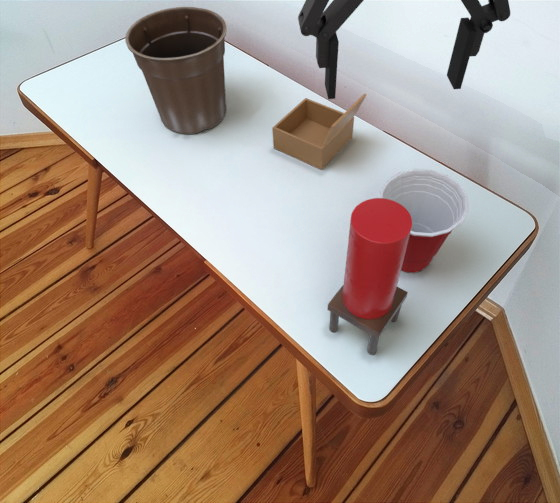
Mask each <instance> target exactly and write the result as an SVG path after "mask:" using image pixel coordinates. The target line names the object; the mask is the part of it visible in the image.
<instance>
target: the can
mask: <svg viewBox="0 0 560 503" xmlns="http://www.w3.org/2000/svg"><path fill="white" fill-rule="evenodd" d="M411 228H412V218H411V215H410V213H409V212H408V210H407V209H406V208H405V207H403V206H402V205H401V204H399V203H397V202H395V201H393V200H389V199H384V198H380V197H374V198H369V199H365V200H363V201H361V202H360V203H358V204H357V205H356V206H355V207H354V209H353V210H352V212H351V215H350V224H349V231H348V240H347V241H348V242H347V250H346V259H345V268H344V278H343V284H344V286H343V285H342V286H343V295H342V298H343V302H344V305H345V307H346V308H347V309H348V310H349V311H350V312H351V313H352V314H353V315H355V316H357V317H360V318H363V319H376V318H379V317H382V316H384V315H385V314H386V313H387V312H388V311H389V310H390V309H391V307H392V304H393V300H394V296H395V292H396V288H397V287H398V284H399V279H400V276H401V272H402V270H401V268H402V264H403V260H404V256H405V252H406V248H407V244H408V240H409V236H410V232H411Z"/></svg>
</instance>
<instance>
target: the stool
mask: <svg viewBox="0 0 560 503" xmlns="http://www.w3.org/2000/svg"><path fill="white" fill-rule="evenodd" d="M343 286H344V283H343V284H342V285H341V287H340V288H339V289H338V290H337V292H336V293H335V294H334V295H333V297H332V298H331V300H330V301H329V303H327V311H329V312H330V313H329V325H328V329H329V331H330V332H331V333H336V332H337V331H338V330H339V320H340V318H341V319H343V320H345V321H346V322H348V323H350V324H351V325H353V326H355V327H357V328H358V329H360V330H362V331H364V332H365V333H367V334H368V335H369V340H368V345H367V348H366V350H367V354H368V355H370V356H374V355H376V354H377V350H378V346H379V343H380V337H381V336H382V335H383V333H384V332H385V330H386V329H387V327H388V325H389V324H390V323H394V324H395V323H397V322H398V320H399V317H400V313H401V310H402V306H403V304H404V302H405V300H406V299H407V297H408V294H409V292H408V291H407V290H404V289H403V288H402V287H399V286H397V288H396V292H395V296H394V300H393V304H392V307H391V309H390V310H389V311H388V312H387V313H386V314H385V315H384V316H382V317H379V318H376V319H363V318H360V317H357V316H355V315H353V314H352V313H351V312H350V311H349V310H348V309H347V308H346V307H345V305H344V302H343V298H342V295H343Z"/></svg>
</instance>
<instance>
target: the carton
mask: <svg viewBox="0 0 560 503" xmlns="http://www.w3.org/2000/svg"><path fill="white" fill-rule="evenodd" d="M344 113H345V112H343V111H340V110H338V109H335V108H332V107H330V106H327V105H326V104H323V103H320V102H317V101H314V100H312V99H310V98H308V97H305V98H304V99H303V100H301V101H300V102H299V103H298V104H297V105H296V106H294V108H292V109H291V111H289V112H288V113H287V114H286V115H285V116H283V117H282V118H281V119H280V120H279V121H278V122H277V123H275V125H273V126H272V144H273V146H272V147H273V149H274V150H277V151H279V152H281V153H283V154H285V155H287V156H290V157H292V158H294V159H296V160H299V161H300V162H303V163H305V164H307V165H309V166H312V167H314V168H316V169H318V170H320V171H321V170H323V169H324V168H325V167H326V166H327V165H328V164H329V163H330V162H331V161H332V160H333V159H334V157H335V156H337V155H338V153H340V151H341V150H342V149H343V148H344V147H345V146H347V144H348V143H349V142H350V141H351V140H352V139H353V134H354V133H353V132H354V125H355V124H354V122H355V116H354V117H353V118H352V119H351V120H350V121H349V122H348V123H347V124H346V125H345V126H344V127H343V128H342V129H341V130H340V131H339V132H338V133H337V134H336V135H335V136H334V137H333V138H332V139H331V140H330V141H329V142H328V143H327V144H326V145H325V146H322V144H323V142H324V140H325V138H326V136H327V134H328V132H329V130H330V128H331V126H332V125H333V124H334V123H335V122H336V121H337V120H338V119H339V118H340V117H341V116H342V115H343V114H344Z"/></svg>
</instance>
